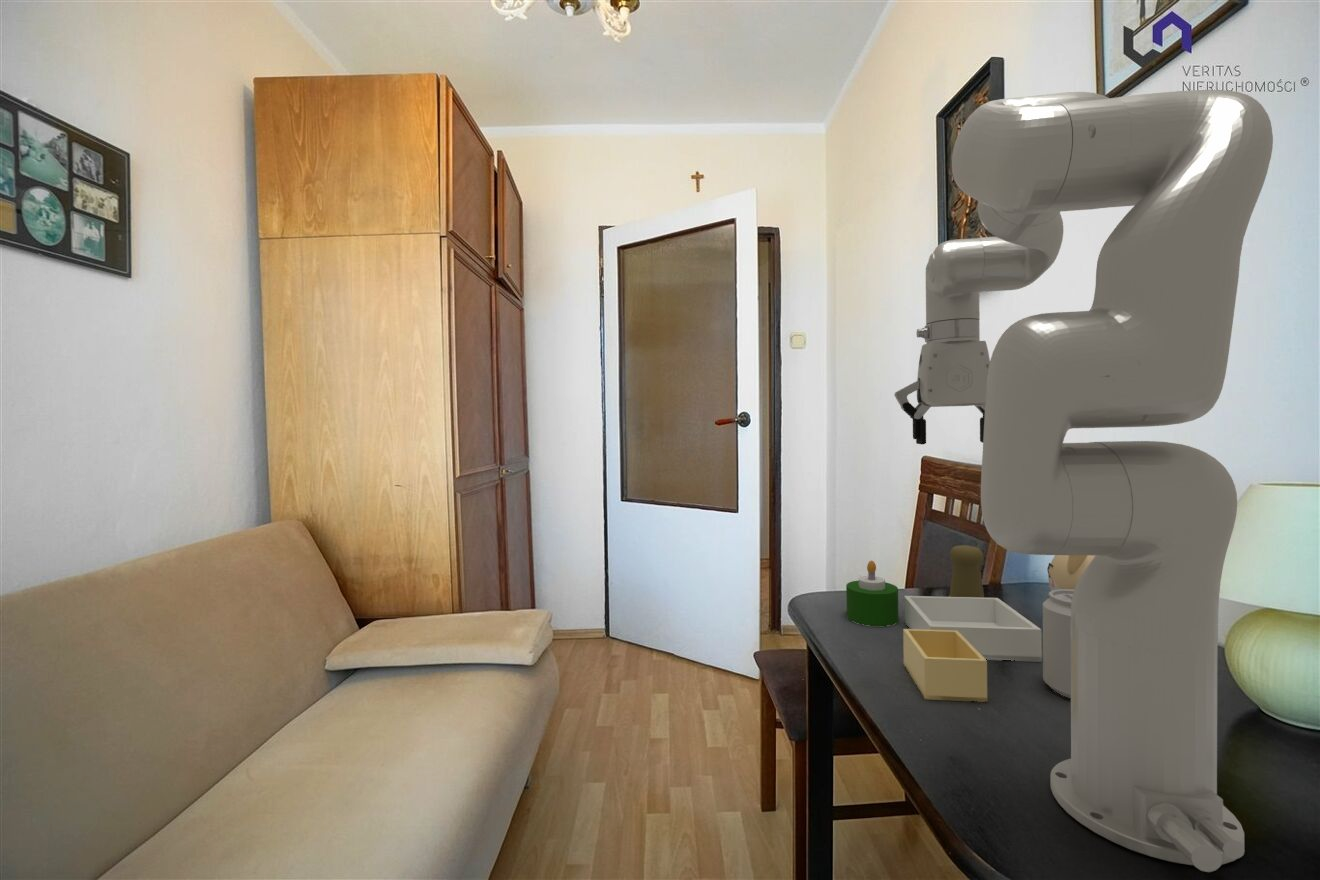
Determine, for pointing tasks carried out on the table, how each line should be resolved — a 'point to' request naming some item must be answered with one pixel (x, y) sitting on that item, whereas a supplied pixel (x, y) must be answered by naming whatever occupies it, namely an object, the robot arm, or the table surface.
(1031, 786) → the table surface
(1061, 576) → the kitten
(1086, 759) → the robot arm
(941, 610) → the large crate
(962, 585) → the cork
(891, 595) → the candle
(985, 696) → the small crate
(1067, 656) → the can
